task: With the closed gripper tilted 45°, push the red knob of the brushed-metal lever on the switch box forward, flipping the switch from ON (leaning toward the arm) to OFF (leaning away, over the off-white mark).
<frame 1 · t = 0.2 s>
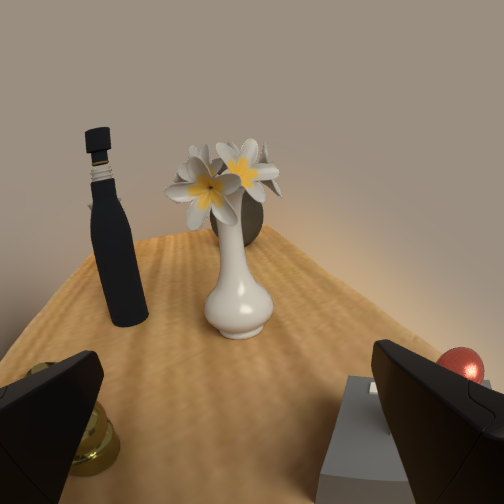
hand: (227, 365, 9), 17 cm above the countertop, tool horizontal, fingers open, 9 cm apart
switch lever: (444, 394, 13), point 10 cm above the countertop, hinge at -25.0°
switch box: (407, 461, 18), on the countertop
flower vase: (244, 331, 41), on the countertop
dark brown round piece: (239, 245, 82), on the countertop
salt shaker: (87, 450, 21), on the countertop
black bottle: (130, 318, 47), on the countertop
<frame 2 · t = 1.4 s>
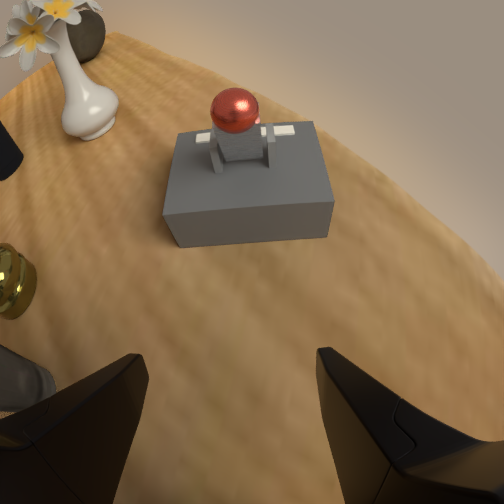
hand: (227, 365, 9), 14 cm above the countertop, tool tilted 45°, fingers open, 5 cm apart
switch lever: (238, 128, 20), point 10 cm above the countertop, hinge at -25.0°
switch box: (250, 197, 29), on the countertop
beverage cup: (40, 390, 21), on the countertop
flower vase: (100, 129, 39), on the countertop
dark brown round piece: (89, 59, 59), on the countertop
salt shaker: (17, 290, 27), on the countertop
black bottle: (11, 167, 39), on the countertop
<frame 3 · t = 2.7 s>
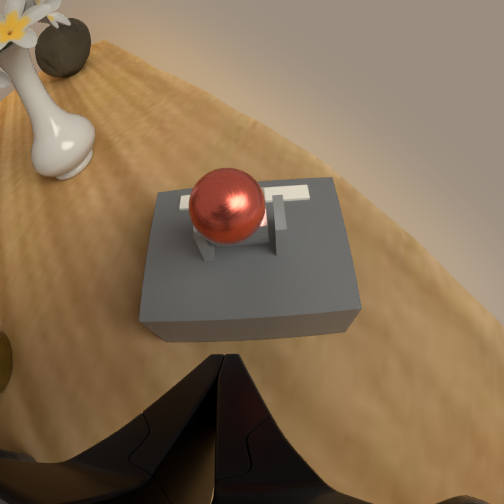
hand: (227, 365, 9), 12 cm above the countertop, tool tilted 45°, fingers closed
switch lever: (234, 218, 14), point 10 cm above the countertop, hinge at -25.0°
switch box: (251, 276, 24), on the countertop
beverage cup: (30, 476, 15), on the countertop
flower vase: (77, 165, 34), on the countertop
dark brown round piece: (74, 72, 54), on the countertop
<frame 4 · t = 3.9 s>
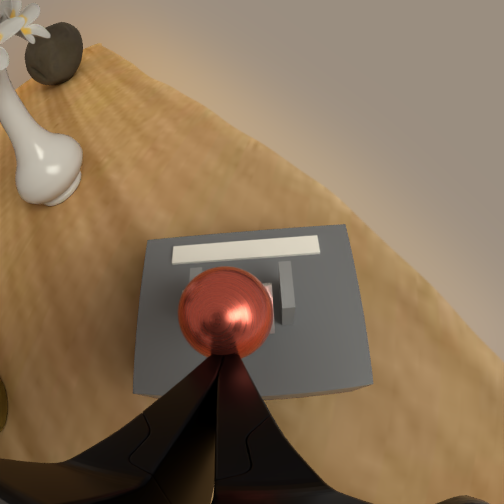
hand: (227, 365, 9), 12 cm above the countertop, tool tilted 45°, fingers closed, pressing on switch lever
switch lever: (234, 306, 12), point 10 cm above the countertop, hinge at -24.9°, touching gripper
switch box: (253, 330, 21), on the countertop
flower vase: (65, 189, 31), on the countertop
dark brown round piece: (66, 79, 52), on the countertop
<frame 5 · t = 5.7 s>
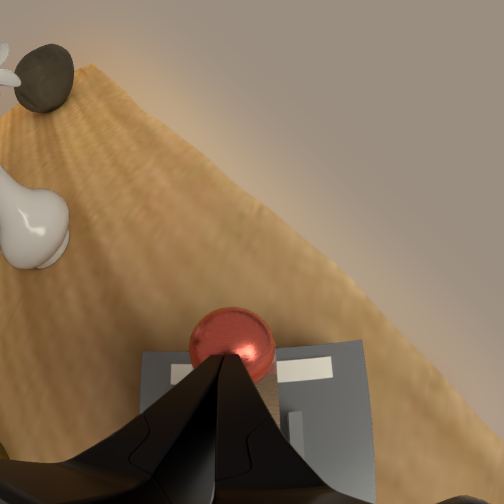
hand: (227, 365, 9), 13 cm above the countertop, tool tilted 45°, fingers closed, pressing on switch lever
switch lever: (240, 392, 11), point 10 cm above the countertop, hinge at 31.4°, touching gripper
switch box: (258, 433, 18), on the countertop
flower vase: (53, 249, 29), on the countertop
dark brown round piece: (57, 105, 50), on the countertop
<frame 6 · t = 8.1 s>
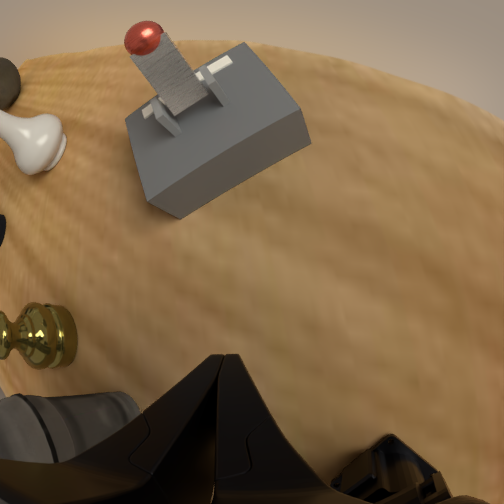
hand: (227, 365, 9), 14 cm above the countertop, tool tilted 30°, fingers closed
switch lever: (162, 63, 19), point 10 cm above the countertop, hinge at 31.4°
switch box: (222, 139, 27), on the countertop
beverage cup: (125, 412, 25), on the countertop
flower vase: (58, 152, 36), on the countertop
dark brown round piece: (15, 97, 52), on the countertop
salt shaker: (62, 336, 30), on the countertop
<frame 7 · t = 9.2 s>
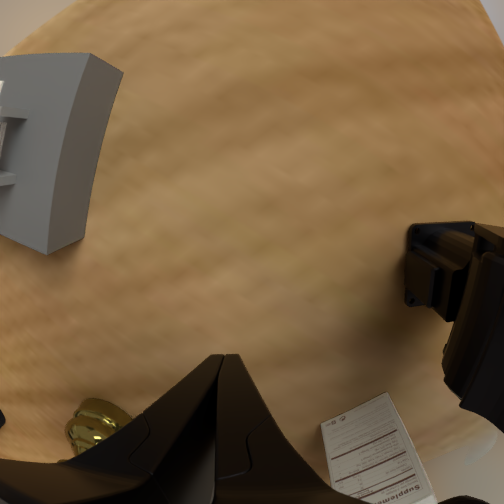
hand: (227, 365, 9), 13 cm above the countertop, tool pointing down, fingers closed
supplement box: (364, 424, 26), on the countertop
switch box: (51, 145, 20), on the countertop
salt shaker: (110, 419, 27), on the countertop
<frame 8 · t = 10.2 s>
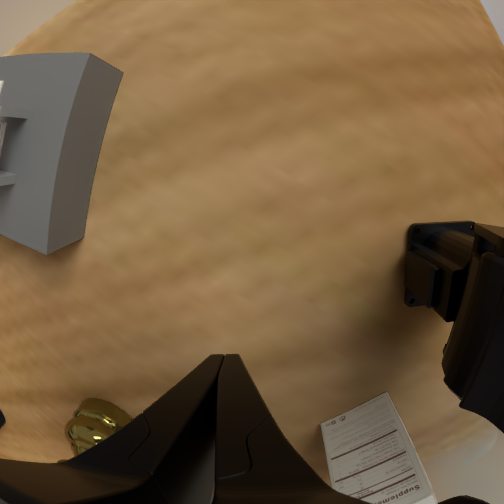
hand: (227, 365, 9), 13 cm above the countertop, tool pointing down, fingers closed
supplement box: (364, 424, 26), on the countertop
switch box: (51, 145, 20), on the countertop
salt shaker: (109, 419, 27), on the countertop
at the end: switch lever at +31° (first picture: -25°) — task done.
